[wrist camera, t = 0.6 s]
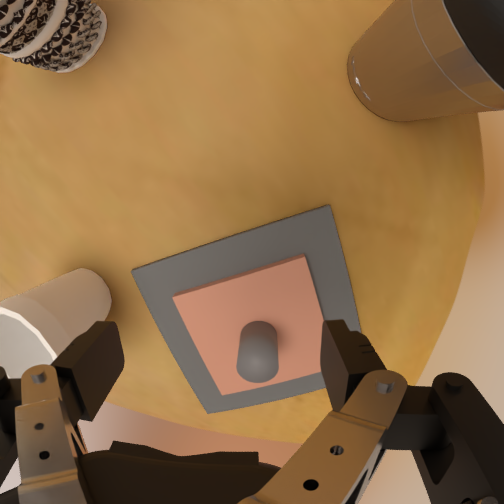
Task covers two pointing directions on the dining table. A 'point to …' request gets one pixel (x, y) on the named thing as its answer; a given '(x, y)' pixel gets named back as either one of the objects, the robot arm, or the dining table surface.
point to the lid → (256, 325)
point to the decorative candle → (51, 32)
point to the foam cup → (50, 319)
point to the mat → (238, 261)
